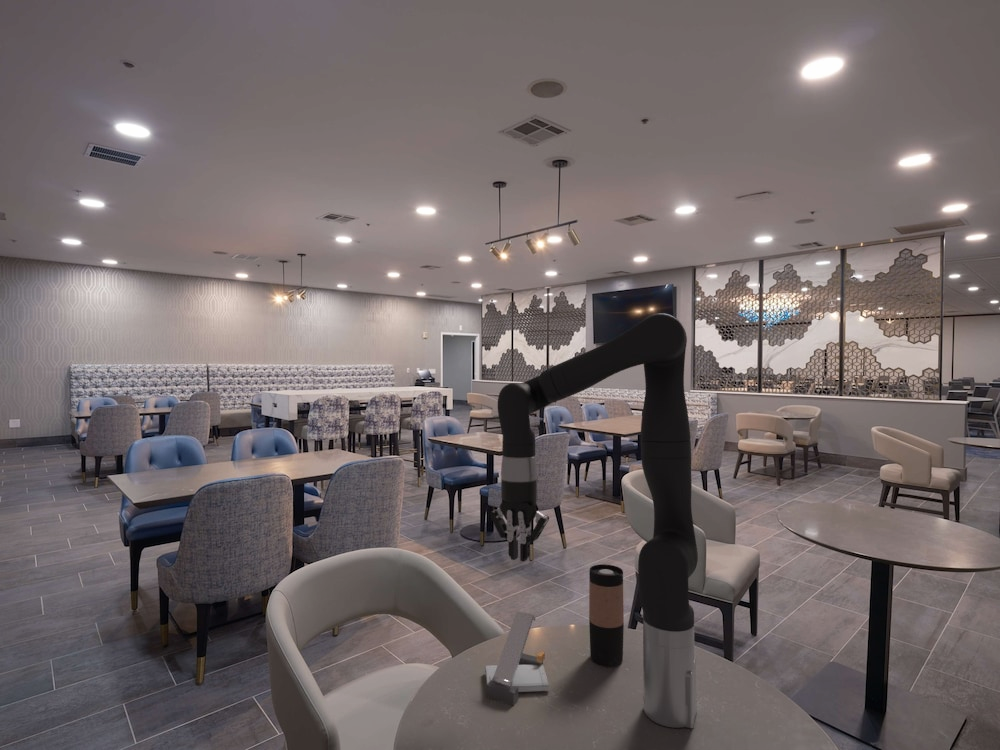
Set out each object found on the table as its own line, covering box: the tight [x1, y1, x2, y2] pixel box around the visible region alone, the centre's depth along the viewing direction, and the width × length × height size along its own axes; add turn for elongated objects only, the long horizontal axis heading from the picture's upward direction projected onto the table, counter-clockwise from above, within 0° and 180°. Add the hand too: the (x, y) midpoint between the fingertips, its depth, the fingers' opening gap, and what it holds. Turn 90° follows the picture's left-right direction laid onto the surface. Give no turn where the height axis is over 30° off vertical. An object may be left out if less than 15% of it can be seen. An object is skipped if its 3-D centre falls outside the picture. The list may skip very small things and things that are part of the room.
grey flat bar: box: [492, 610, 536, 687], centre depth 110 cm, size 4×15×2 cm
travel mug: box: [588, 563, 625, 668], centre depth 120 cm, size 8×8×20 cm
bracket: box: [486, 651, 546, 707], centre depth 110 cm, size 7×15×4 cm, turn 153°
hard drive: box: [484, 663, 550, 693], centre depth 110 cm, size 2×8×12 cm
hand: (519, 559), depth 112 cm, fingers closed
